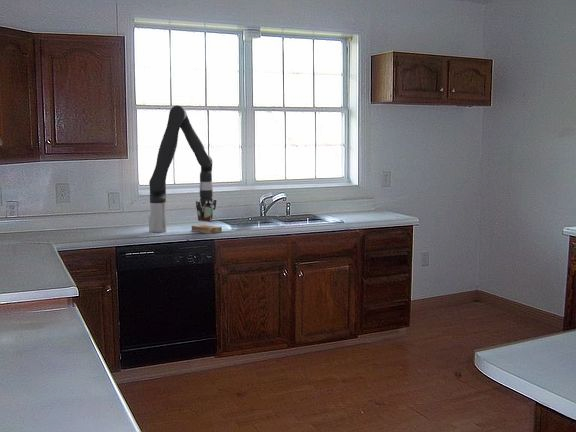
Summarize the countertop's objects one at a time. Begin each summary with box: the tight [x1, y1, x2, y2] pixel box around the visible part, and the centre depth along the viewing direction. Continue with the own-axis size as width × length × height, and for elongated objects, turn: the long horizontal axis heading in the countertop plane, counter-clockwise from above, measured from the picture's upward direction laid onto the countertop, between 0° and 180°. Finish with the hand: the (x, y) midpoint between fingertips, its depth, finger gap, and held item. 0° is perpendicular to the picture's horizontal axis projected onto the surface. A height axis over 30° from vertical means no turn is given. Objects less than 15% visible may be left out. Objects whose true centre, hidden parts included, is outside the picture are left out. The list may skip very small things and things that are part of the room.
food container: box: [196, 203, 214, 223], centre depth 373 cm, size 12×6×10 cm, turn 58°
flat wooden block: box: [191, 223, 223, 235], centre depth 374 cm, size 10×16×3 cm, turn 45°
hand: (206, 217), depth 373 cm, fingers closed on food container, 5 cm apart
